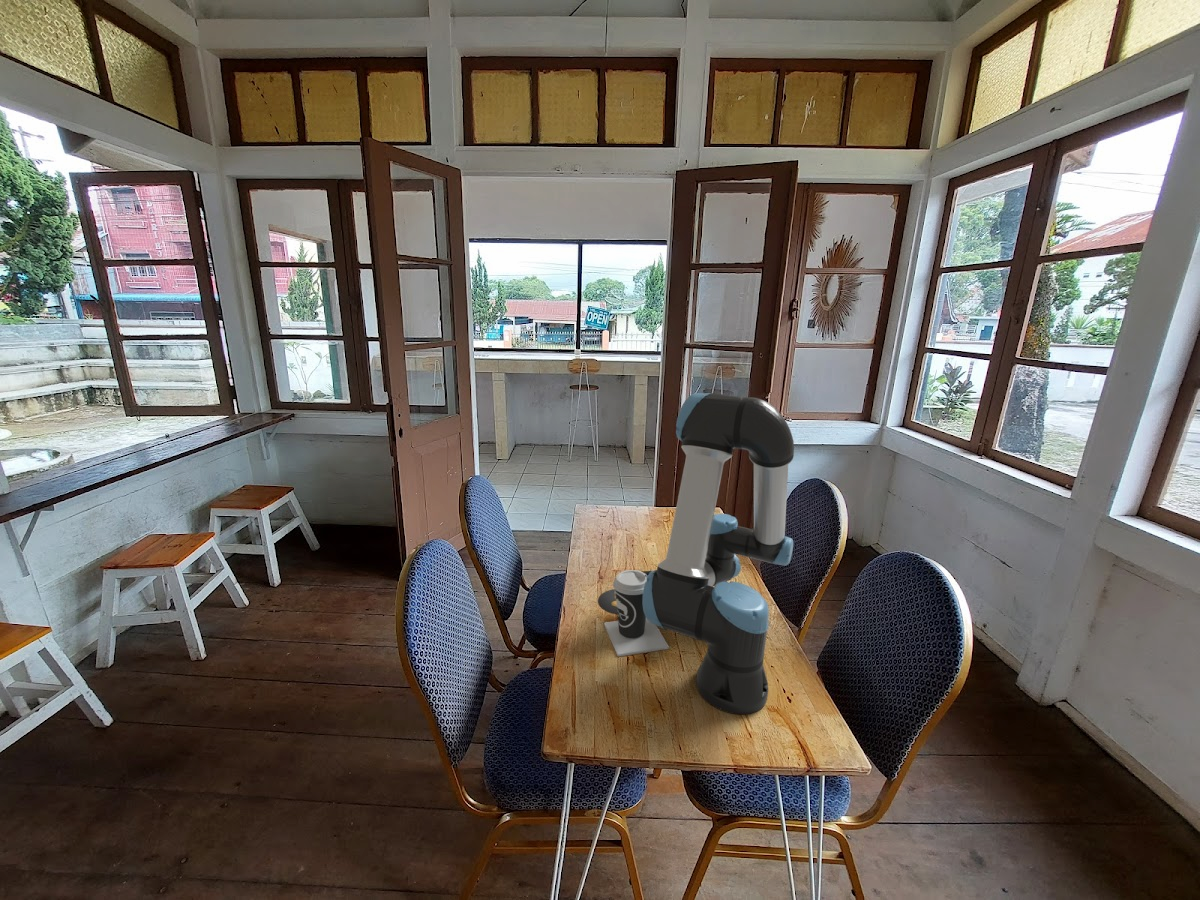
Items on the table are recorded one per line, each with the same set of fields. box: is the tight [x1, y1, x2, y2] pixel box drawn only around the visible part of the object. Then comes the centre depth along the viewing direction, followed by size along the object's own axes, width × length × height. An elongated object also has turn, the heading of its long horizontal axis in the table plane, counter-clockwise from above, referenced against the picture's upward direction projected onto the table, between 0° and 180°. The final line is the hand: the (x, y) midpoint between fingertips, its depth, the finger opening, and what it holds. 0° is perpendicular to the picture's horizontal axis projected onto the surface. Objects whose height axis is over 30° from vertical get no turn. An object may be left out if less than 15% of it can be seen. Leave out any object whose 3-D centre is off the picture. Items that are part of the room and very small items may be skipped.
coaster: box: [597, 588, 618, 615], centre depth 141 cm, size 13×13×1 cm
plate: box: [603, 618, 670, 658], centre depth 126 cm, size 13×13×1 cm
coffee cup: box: [612, 569, 647, 638], centre depth 125 cm, size 10×10×15 cm
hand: (631, 602), depth 123 cm, fingers open, 13 cm apart
